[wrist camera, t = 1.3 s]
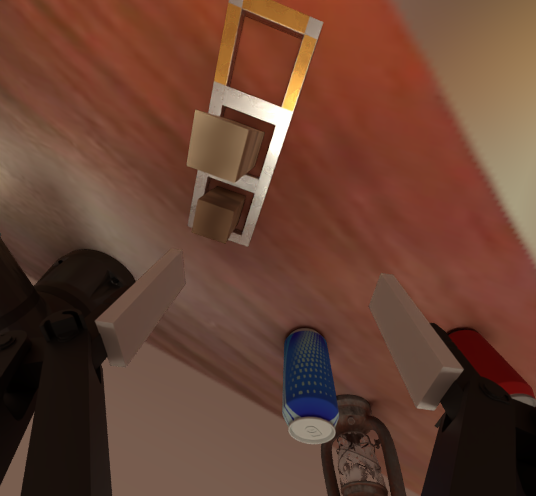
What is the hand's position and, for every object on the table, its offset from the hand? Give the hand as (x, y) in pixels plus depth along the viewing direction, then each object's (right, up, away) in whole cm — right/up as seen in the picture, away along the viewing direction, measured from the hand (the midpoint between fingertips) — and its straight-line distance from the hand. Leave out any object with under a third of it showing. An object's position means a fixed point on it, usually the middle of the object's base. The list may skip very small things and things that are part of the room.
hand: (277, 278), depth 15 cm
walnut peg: (-7, +9, +20) cm, 23 cm away
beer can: (+7, -17, +31) cm, 36 cm away
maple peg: (-4, +16, +16) cm, 23 cm away
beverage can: (+35, -15, +28) cm, 47 cm away
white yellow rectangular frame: (-4, +16, +16) cm, 23 cm away
